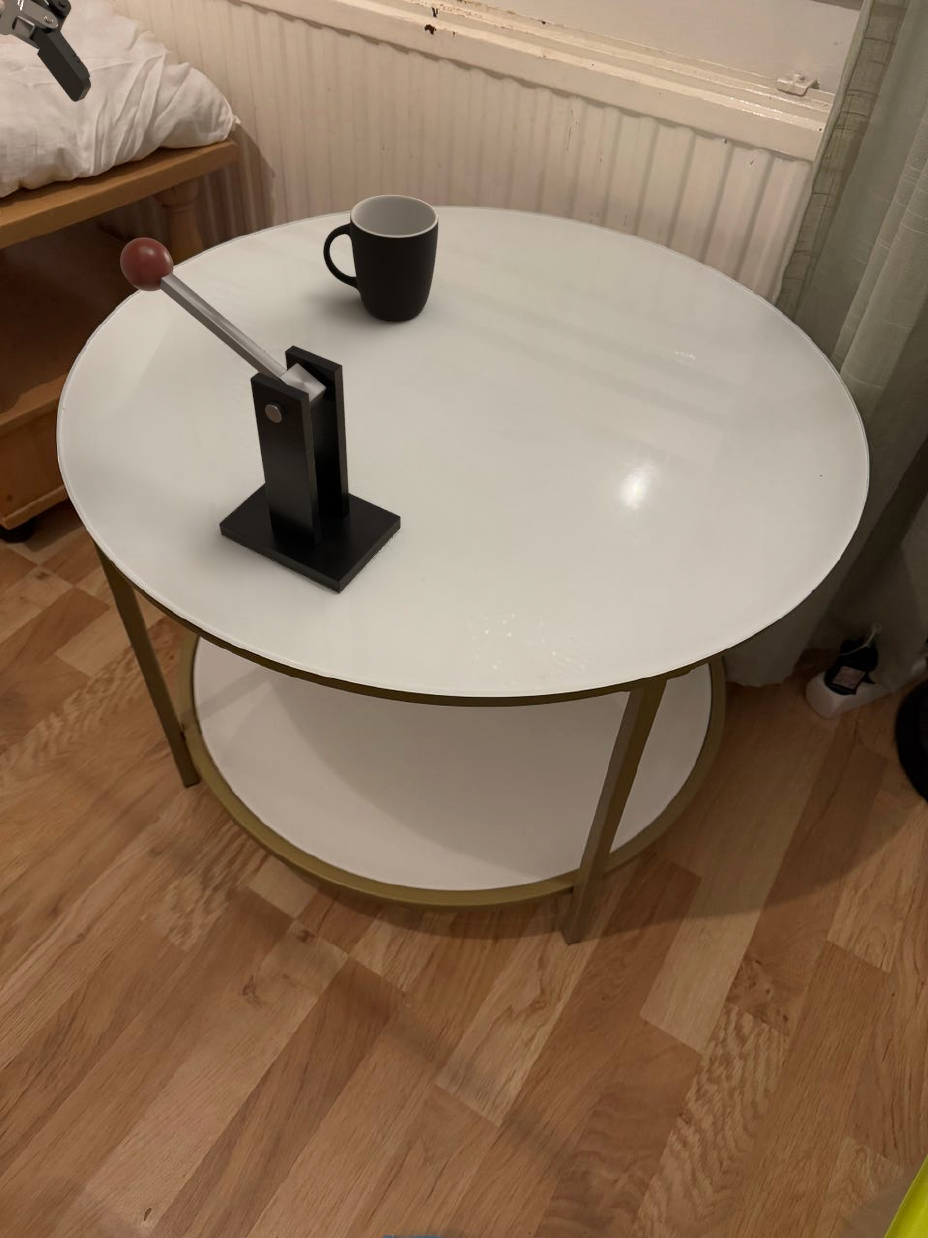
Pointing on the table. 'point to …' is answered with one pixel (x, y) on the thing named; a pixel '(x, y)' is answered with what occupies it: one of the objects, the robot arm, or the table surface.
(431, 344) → the table surface
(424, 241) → the mug
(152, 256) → the lever
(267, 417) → the bracket
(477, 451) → the table surface
